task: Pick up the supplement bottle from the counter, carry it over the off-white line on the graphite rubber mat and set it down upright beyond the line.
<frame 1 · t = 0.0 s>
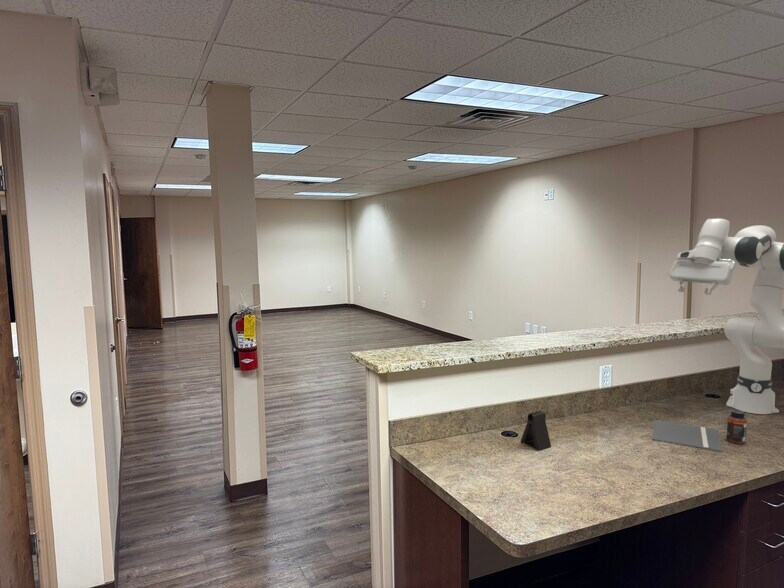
hand: (693, 292, 187), 54 cm above the table, tool tilted 30°, fingers open, 8 cm apart
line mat: (685, 435, 196), on the table
supplement bottle: (735, 441, 190), on the table
phone stand: (535, 445, 188), on the table
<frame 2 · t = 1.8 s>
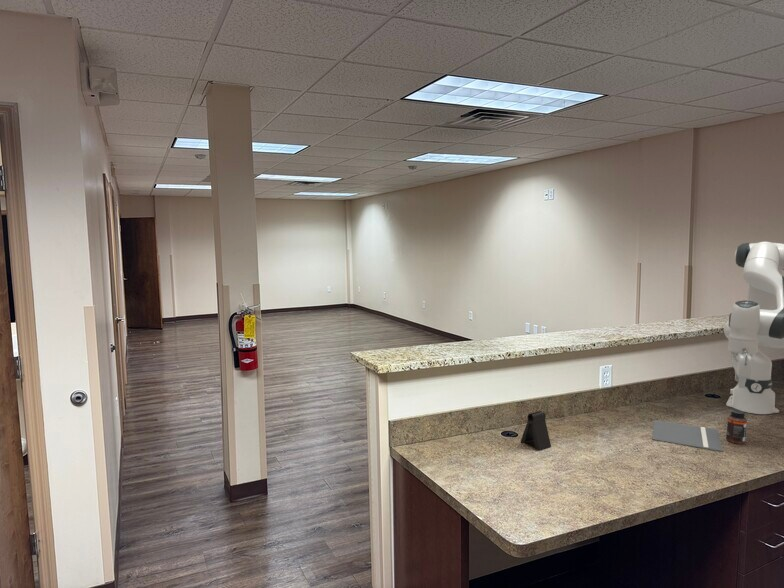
hand: (739, 384, 187), 22 cm above the table, tool pointing down, fingers open, 8 cm apart
nothing on the table moved.
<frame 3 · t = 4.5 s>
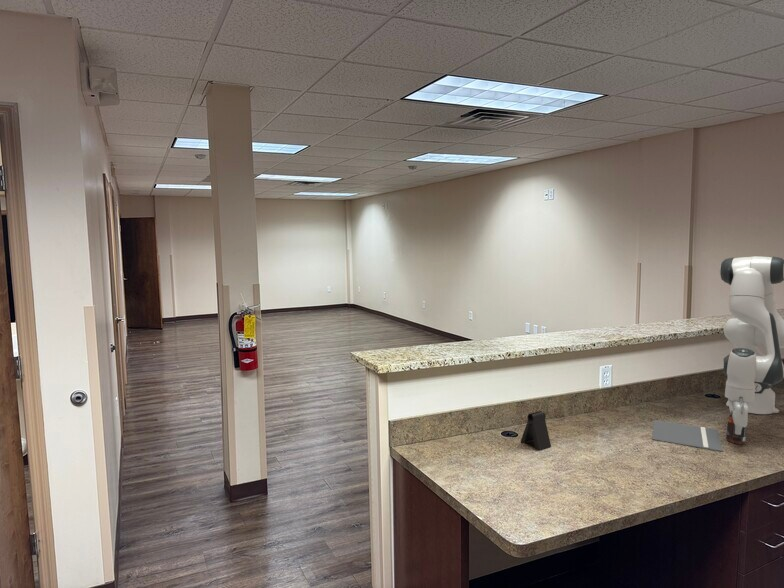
hand: (736, 430, 190), 4 cm above the table, tool pointing down, fingers closed on supplement bottle, 6 cm apart
supplement bottle: (735, 441, 190), on the table, touching gripper
everything else where it was.
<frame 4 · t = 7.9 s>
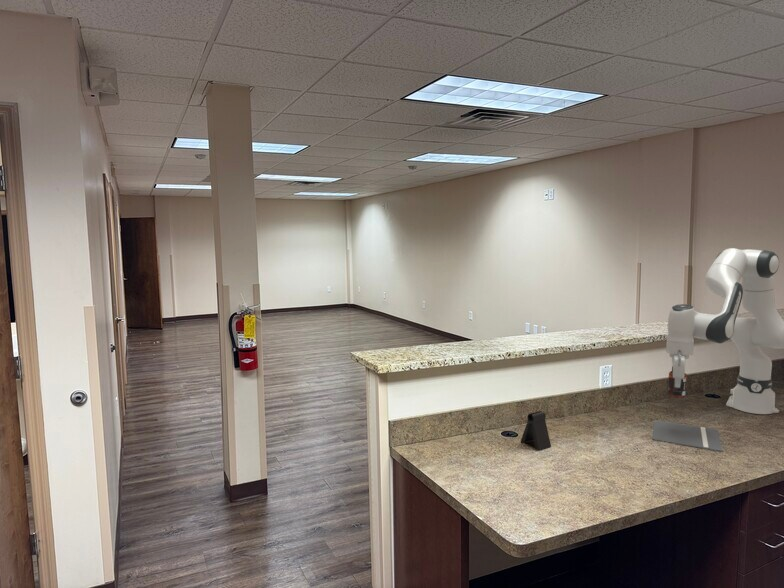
hand: (677, 384, 195), 19 cm above the table, tool pointing down, fingers closed on supplement bottle, 6 cm apart
supplement bottle: (676, 396, 196), point 14 cm above the table, touching gripper
everything else where it was.
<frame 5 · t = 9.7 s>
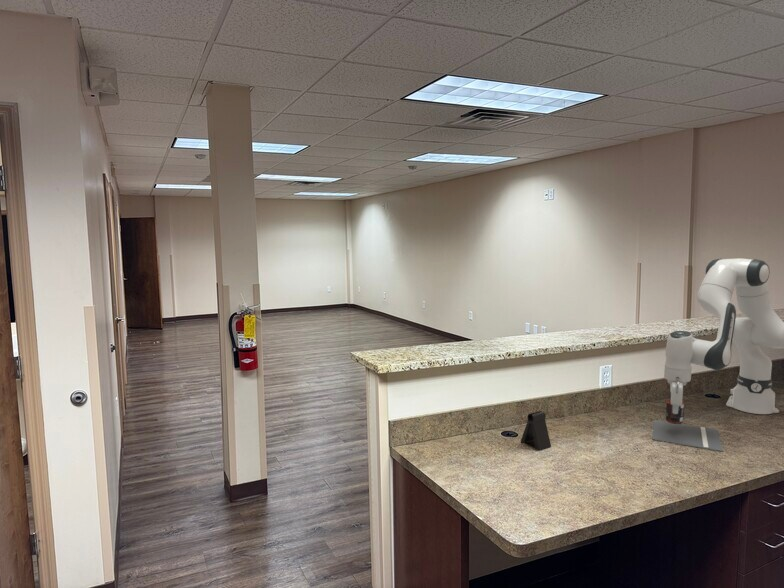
hand: (675, 410, 197), 9 cm above the table, tool pointing down, fingers closed on supplement bottle, 6 cm apart
supplement bottle: (674, 422, 197), point 4 cm above the table, touching gripper
everything else where it was.
when the fingers open (5 cm above the table, at t = 11.4 s): supplement bottle stays where it is, resting on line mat.
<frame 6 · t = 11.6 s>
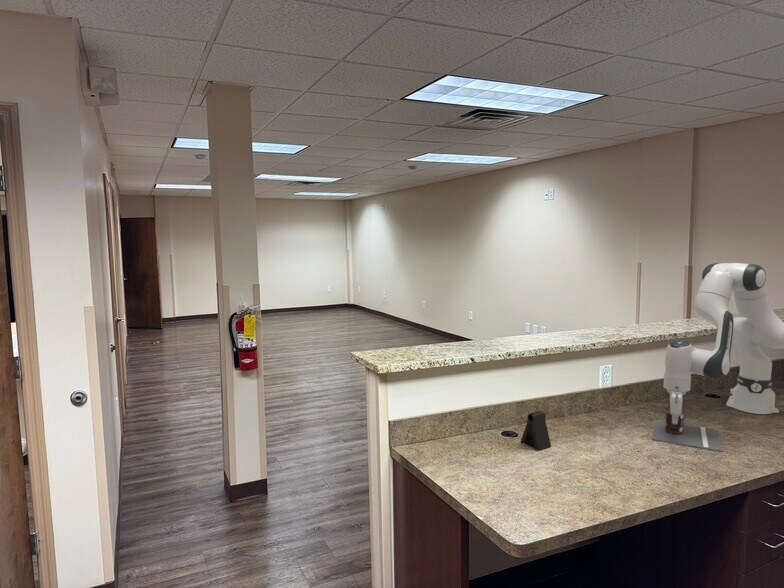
hand: (674, 419, 197), 5 cm above the table, tool pointing down, fingers open, 8 cm apart
supplement bottle: (674, 432, 198), resting on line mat
everything else where it was.
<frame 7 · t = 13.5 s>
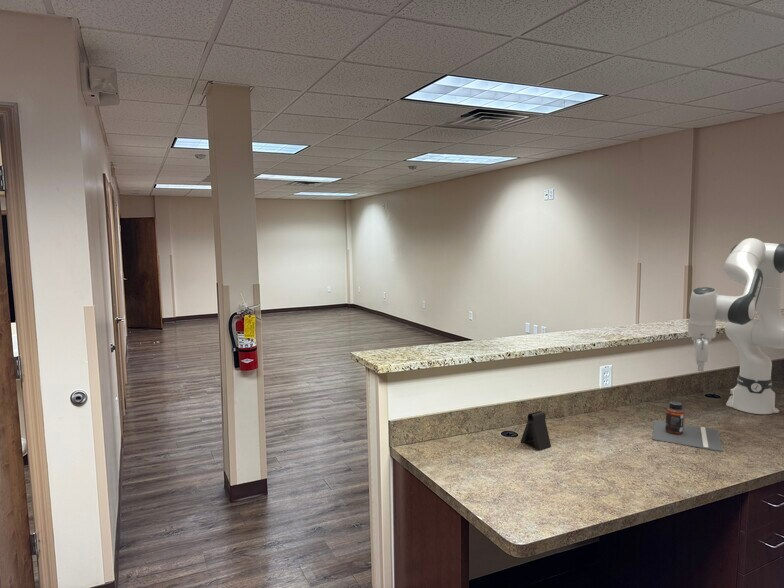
hand: (700, 367, 195), 25 cm above the table, tool pointing down, fingers open, 8 cm apart
nothing on the table moved.
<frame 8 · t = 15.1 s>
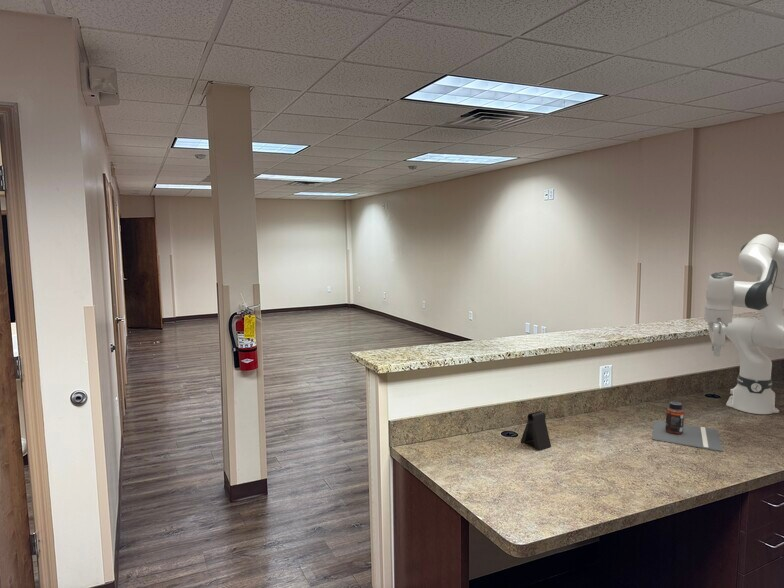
hand: (715, 353, 194), 31 cm above the table, tool pointing down, fingers open, 8 cm apart
nothing on the table moved.
at the end: supplement bottle inside the target area (0.6 cm from its centre), resting on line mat; supplement bottle tilted 0°; the gripper is holding nothing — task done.
